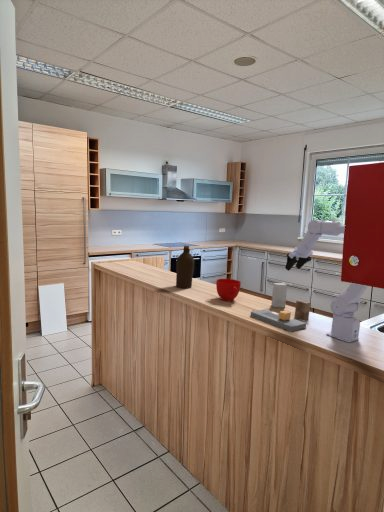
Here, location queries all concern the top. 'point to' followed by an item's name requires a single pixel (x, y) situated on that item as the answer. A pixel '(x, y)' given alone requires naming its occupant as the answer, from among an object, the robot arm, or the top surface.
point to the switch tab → (284, 315)
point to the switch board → (278, 320)
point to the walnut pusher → (302, 310)
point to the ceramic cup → (227, 288)
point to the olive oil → (184, 269)
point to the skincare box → (279, 295)
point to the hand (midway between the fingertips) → (292, 268)
